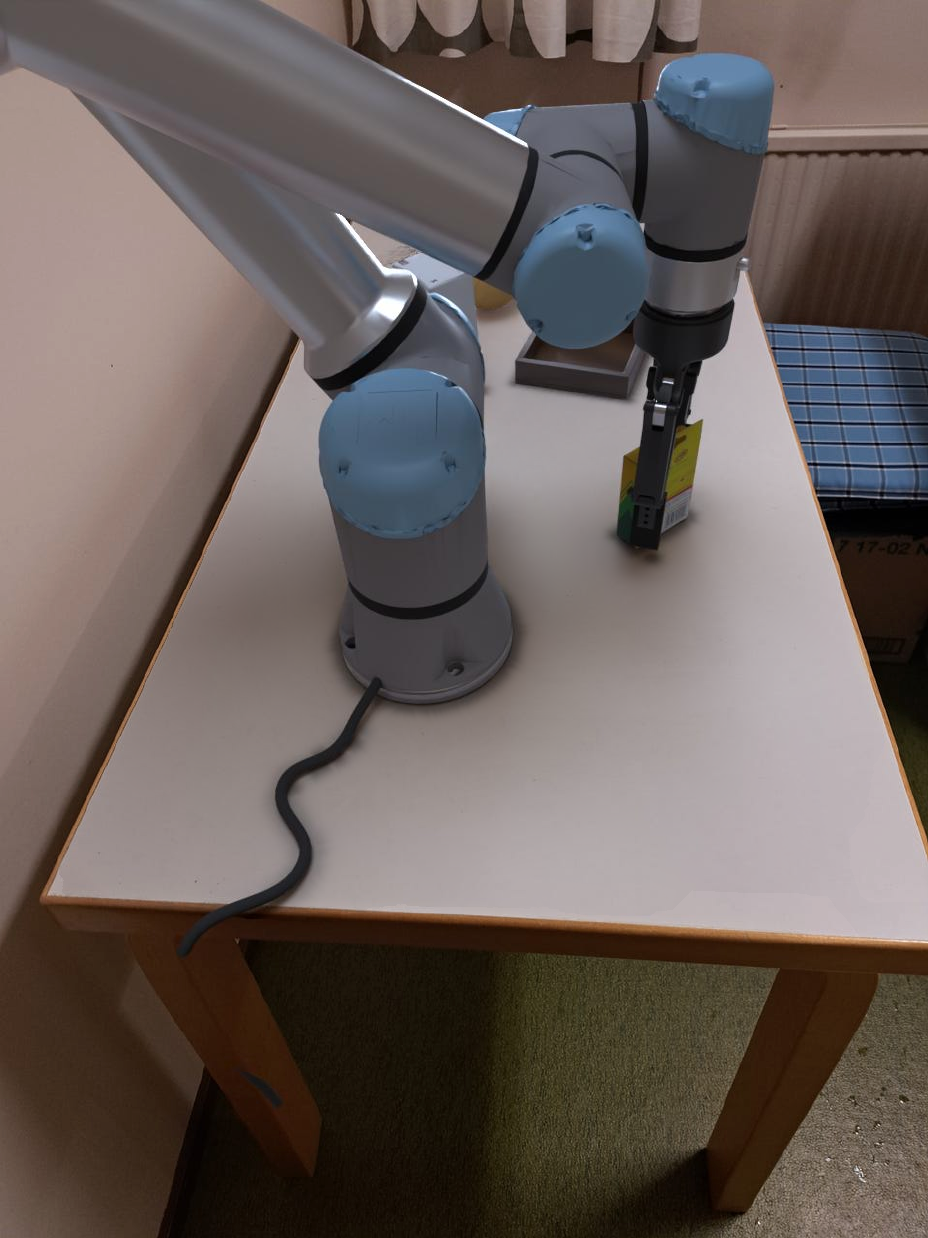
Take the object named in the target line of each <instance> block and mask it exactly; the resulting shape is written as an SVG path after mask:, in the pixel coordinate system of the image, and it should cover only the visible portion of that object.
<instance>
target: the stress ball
mask: <svg viewBox="0 0 928 1238" xmlns="http://www.w3.org/2000/svg"><path fill="white" fill-rule="evenodd" d="M473 286H474V297H475V308H478V309H482V310H494V309H498V308H501V307H503V306H505V305H507V304H509V303H511V302H512V301H513V300H515V299H514V297H513V296H511V295H509V294H507V293H505V292H503V291H501V290H499V289H497V288H495V287H493V286H491V285H489V284H487V283H485V282H483V281H481V280H479V279H477V278H475V277H473Z"/></svg>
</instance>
